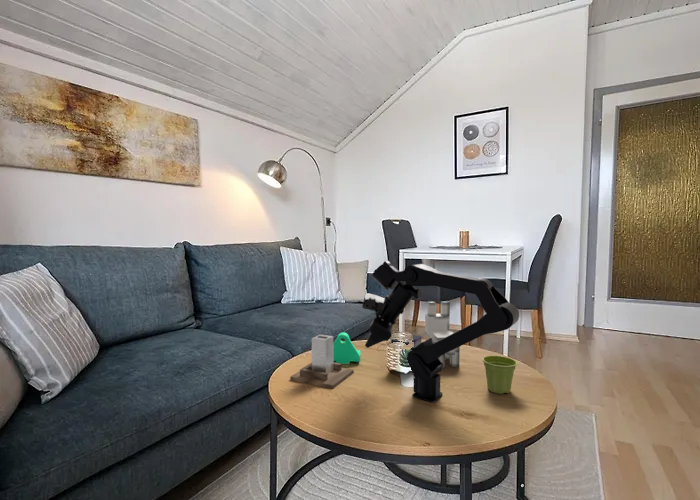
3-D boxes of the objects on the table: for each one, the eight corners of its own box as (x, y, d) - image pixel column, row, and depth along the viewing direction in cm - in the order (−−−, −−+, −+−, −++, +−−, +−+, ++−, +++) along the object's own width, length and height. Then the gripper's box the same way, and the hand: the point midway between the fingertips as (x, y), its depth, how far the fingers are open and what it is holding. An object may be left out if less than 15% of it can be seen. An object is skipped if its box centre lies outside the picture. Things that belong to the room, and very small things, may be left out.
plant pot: (485, 381, 118) (485, 353, 117) (518, 387, 113) (519, 358, 113) (478, 392, 110) (479, 362, 109) (514, 399, 105) (514, 368, 105)
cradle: (353, 372, 125) (353, 363, 125) (333, 388, 112) (333, 378, 112) (313, 365, 131) (313, 356, 131) (290, 379, 119) (290, 370, 119)
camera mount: (360, 357, 141) (360, 329, 140) (359, 364, 133) (359, 335, 132) (327, 356, 141) (327, 328, 141) (325, 363, 134) (325, 334, 133)
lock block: (333, 371, 123) (333, 335, 122) (325, 377, 118) (325, 339, 118) (319, 369, 125) (319, 333, 124) (311, 374, 120) (311, 337, 120)
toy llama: (440, 370, 127) (440, 310, 126) (424, 353, 145) (425, 300, 144) (462, 369, 128) (463, 309, 127) (444, 352, 145) (445, 300, 144)
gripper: (378, 275, 120) (352, 312, 125) (370, 295, 103) (339, 338, 107) (408, 295, 120) (380, 331, 125) (404, 319, 102) (372, 361, 107)
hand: (368, 339), depth 116 cm, fingers open, 9 cm apart
